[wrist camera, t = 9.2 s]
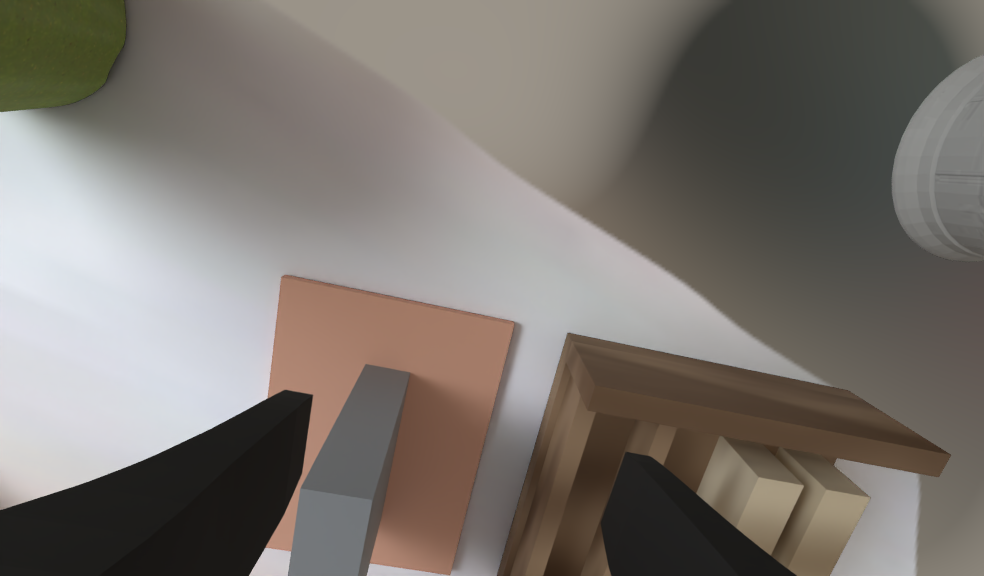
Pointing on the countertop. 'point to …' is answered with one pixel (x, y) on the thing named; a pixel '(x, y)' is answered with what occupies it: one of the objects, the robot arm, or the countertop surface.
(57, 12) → the plant pot
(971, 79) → the glass holder
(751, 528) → the birch offcut
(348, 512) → the gray block
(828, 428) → the walnut rack
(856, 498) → the birch offcut
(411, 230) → the countertop surface
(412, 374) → the terracotta mat
